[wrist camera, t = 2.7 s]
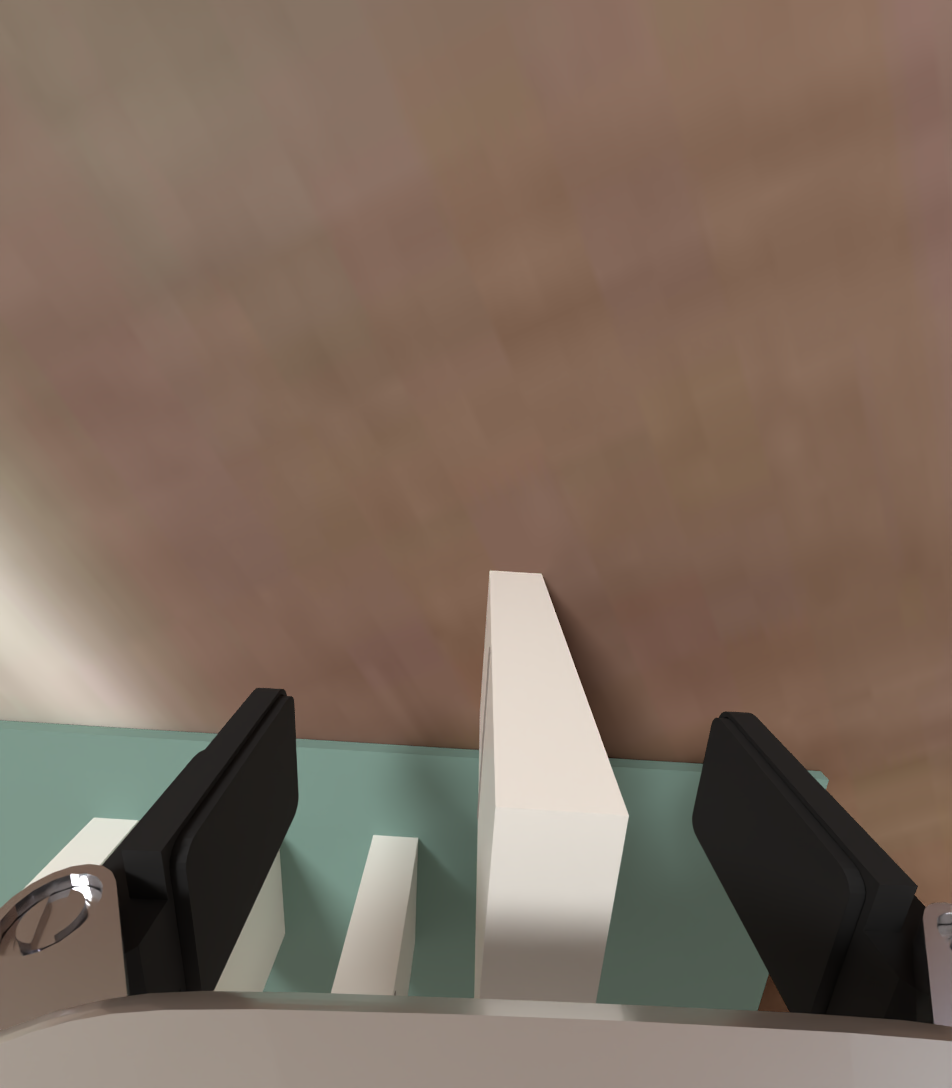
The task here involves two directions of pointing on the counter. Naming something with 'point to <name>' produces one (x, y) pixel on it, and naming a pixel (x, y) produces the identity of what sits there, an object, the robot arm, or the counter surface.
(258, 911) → the domino
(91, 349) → the counter surface
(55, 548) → the counter surface
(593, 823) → the domino
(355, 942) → the domino
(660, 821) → the runner mat
